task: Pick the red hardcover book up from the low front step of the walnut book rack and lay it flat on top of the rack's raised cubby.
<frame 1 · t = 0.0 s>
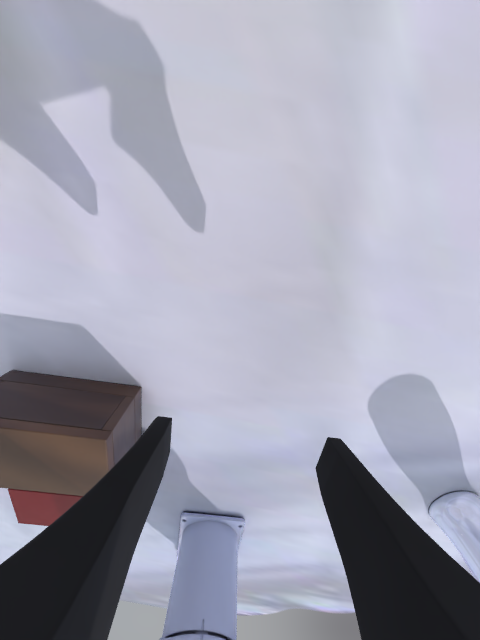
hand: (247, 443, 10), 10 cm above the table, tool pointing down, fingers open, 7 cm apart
beer glass: (452, 505, 28), on the table
red hardcover book: (79, 478, 24), point 1 cm above the table, touching book rack
book rack: (84, 437, 24), on the table
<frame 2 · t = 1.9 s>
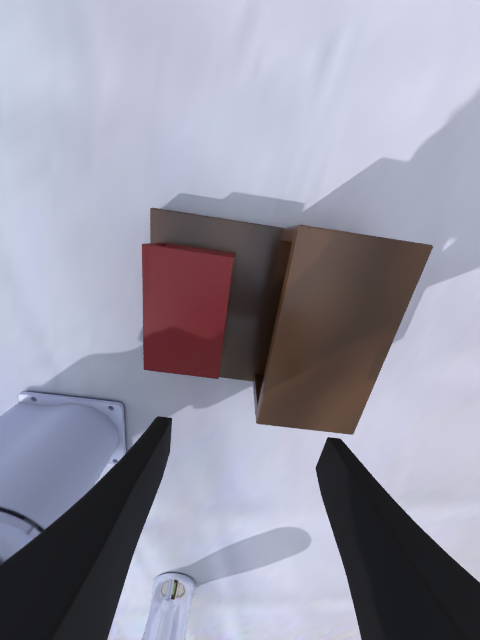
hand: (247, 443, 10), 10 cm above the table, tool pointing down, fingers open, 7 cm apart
beer glass: (175, 581, 33), on the table
red hardcover book: (194, 304, 16), point 1 cm above the table, touching book rack
book rack: (251, 306, 18), on the table
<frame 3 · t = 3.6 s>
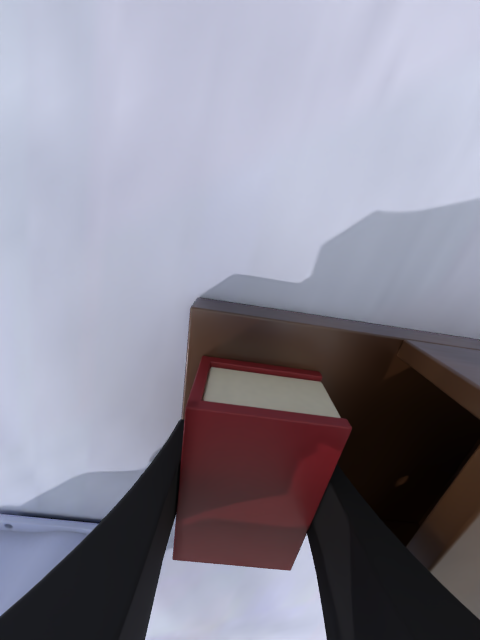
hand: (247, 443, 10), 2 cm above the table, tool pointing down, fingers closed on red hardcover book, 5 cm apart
red hardcover book: (246, 434, 11), point 2 cm above the table, touching book rack, gripper
book rack: (323, 421, 12), on the table
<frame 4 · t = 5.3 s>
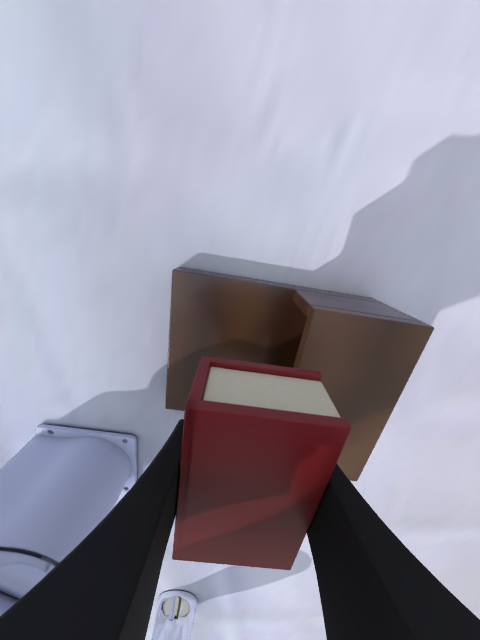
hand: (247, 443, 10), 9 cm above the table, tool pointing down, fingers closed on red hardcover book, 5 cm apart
beer glass: (178, 597, 34), on the table
red hardcover book: (246, 434, 11), point 9 cm above the table, touching gripper
book rack: (262, 351, 19), on the table
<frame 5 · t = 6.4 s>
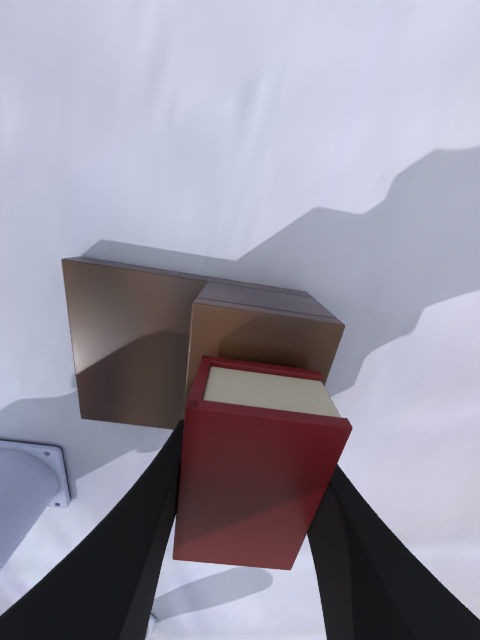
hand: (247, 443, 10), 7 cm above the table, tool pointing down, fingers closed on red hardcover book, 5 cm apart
beer glass: (135, 616, 32), on the table
red hardcover book: (246, 434, 11), point 7 cm above the table, touching gripper
book rack: (188, 354, 17), on the table
when the fingers open (6 cm above the table, at t = 7.1 s): red hardcover book stays where it is, resting on book rack.
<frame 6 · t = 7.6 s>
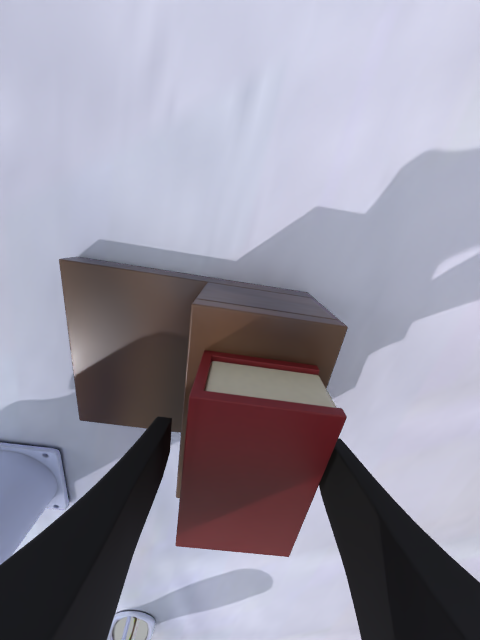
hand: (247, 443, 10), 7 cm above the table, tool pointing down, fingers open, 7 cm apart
beer glass: (135, 618, 32), on the table
red hardcover book: (246, 427, 11), point 6 cm above the table, touching book rack
book rack: (188, 355, 17), on the table
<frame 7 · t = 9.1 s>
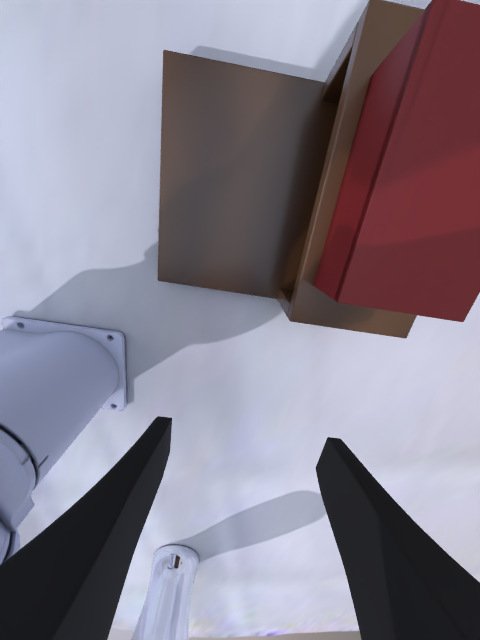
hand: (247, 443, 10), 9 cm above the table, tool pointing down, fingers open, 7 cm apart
beer glass: (177, 555, 31), on the table
red hardcover book: (392, 205, 10), point 6 cm above the table, touching book rack
book rack: (277, 206, 15), on the table
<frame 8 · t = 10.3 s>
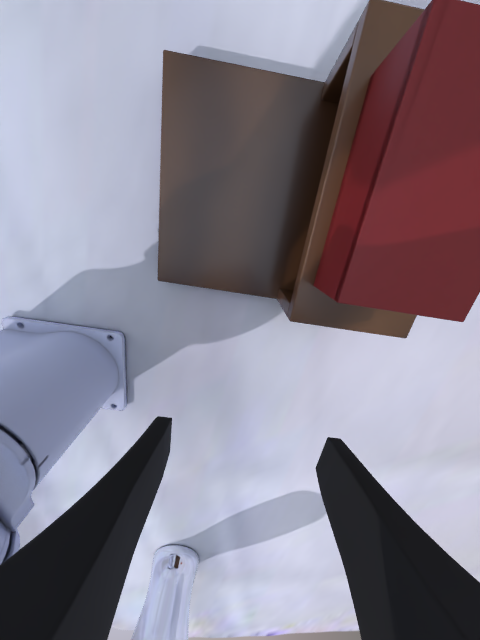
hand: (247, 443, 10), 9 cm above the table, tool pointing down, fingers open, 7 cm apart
beer glass: (177, 555, 31), on the table
red hardcover book: (392, 205, 10), point 6 cm above the table, touching book rack
book rack: (277, 206, 15), on the table
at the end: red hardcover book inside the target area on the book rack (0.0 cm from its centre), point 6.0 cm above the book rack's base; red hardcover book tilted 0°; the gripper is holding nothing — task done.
